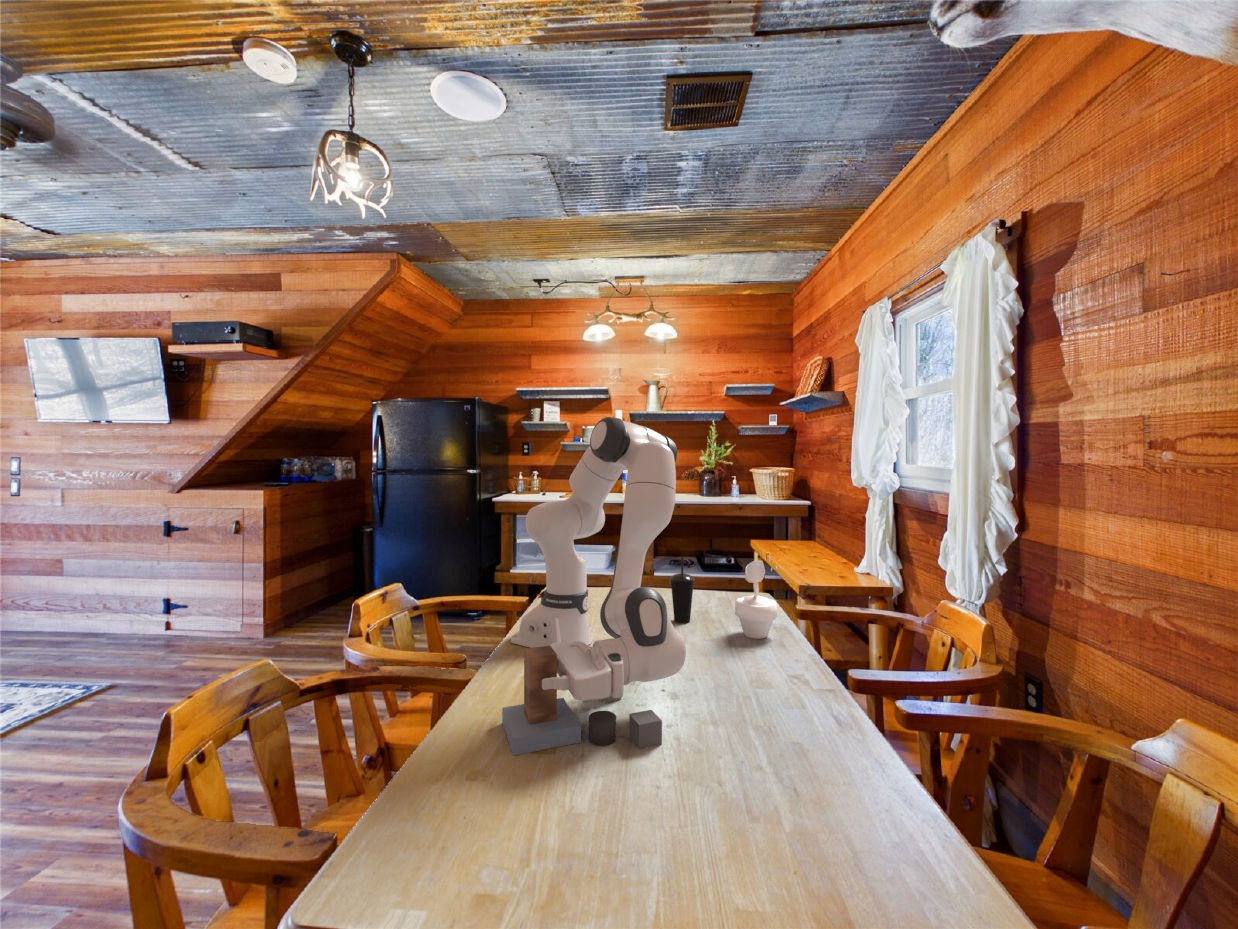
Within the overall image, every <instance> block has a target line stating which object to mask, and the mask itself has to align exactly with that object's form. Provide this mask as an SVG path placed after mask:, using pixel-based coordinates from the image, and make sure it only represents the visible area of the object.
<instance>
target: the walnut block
mask: <svg viewBox="0 0 1238 929" xmlns="http://www.w3.org/2000/svg"><path fill="white" fill-rule="evenodd" d="M523 653H524V654H523V704H524V713H525V716H526V718H527V720H528V722H529V725H531V724H537V723H542V722H548V721H554V720H557V699H558V693H557V692H558V690H556V689H547V690H543V688H542V687H541V678H542V677H546V676H551V677H558V674H557V654H556V653H555V651H554V650H553V648H552V647H551V646H542V647H534V648H530V647H527V648H524V649H523Z"/></svg>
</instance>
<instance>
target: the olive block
mask: <svg viewBox="0 0 1238 929" xmlns="http://www.w3.org/2000/svg"><path fill="white" fill-rule="evenodd" d="M600 700H601V701H602V703H604V704H605V703H611V702H615V701H621V700H622V697H621V698H612V697H611V696H610V697H608V698H603V699H600Z"/></svg>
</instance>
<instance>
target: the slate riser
mask: <svg viewBox="0 0 1238 929" xmlns="http://www.w3.org/2000/svg"><path fill="white" fill-rule="evenodd" d="M501 708H502V711H501V713H502V716H501V717H502V720H501V722H502V723H501V724H502V726H503V729H504V732H505V734H506V735H505V736H506V738H507V741H508V743H509V747H510V750H511V753H512V755H513V756H518V755H521V754H522V755H525V754H528V753H533V752H539V751H543V750H549V749H554V748H558V747H559V748H560V747H563V746H569V745H575V744H579V743H582V725H581V723H580V722H579V721H578V719H577V717H576V716H575V714H574V713H573V711H572V709H571V708H570V706H569V705H568V703H567V702H566V699H565V698H564V697H560V698H557V720H554V721H548V722H542V723H537V724H531V725H529V722H528V720H527V718H526V716H525V713H524V703H522V704H515V705H510V706H504V707H501Z"/></svg>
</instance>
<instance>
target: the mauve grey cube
mask: <svg viewBox="0 0 1238 929" xmlns="http://www.w3.org/2000/svg"><path fill="white" fill-rule="evenodd" d="M628 715H629V717H628V718H629V719H628V721H629V723H628V724H629V725H628V726H629V728H628V729H629V730H628V731H629V732H628V733H629V734H628V738H629V739H630V740H631V742H632V743H633V744H634V745H635V747H636V748H637V749H638V750H644V749H647V748H653V747H657V746H662V744H663V738H662V737H663V733H662V732H663V720H662V719H661V718H660V717H659V716H658V715H657V713H655V712H654V710H652V709H649V710H648V709H647V710H642V711H637V712H631V713H629V714H628Z"/></svg>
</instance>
